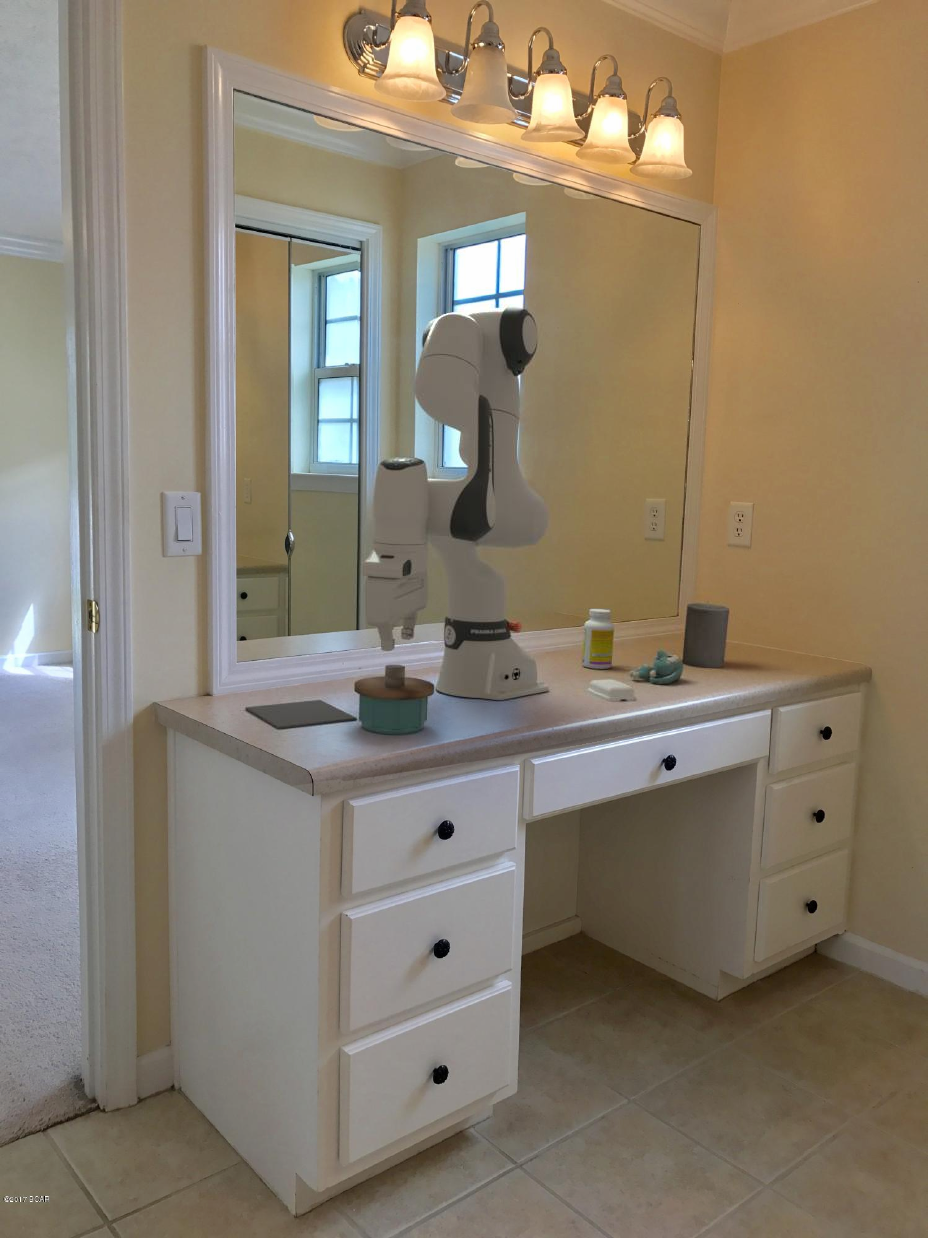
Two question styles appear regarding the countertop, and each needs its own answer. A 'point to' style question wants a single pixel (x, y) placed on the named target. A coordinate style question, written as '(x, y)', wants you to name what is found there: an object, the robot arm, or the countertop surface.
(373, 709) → the bowl
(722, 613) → the pillar candle
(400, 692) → the lid
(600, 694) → the soap
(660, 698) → the countertop surface
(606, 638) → the supplement bottle
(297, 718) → the mat
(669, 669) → the stuffed animal
